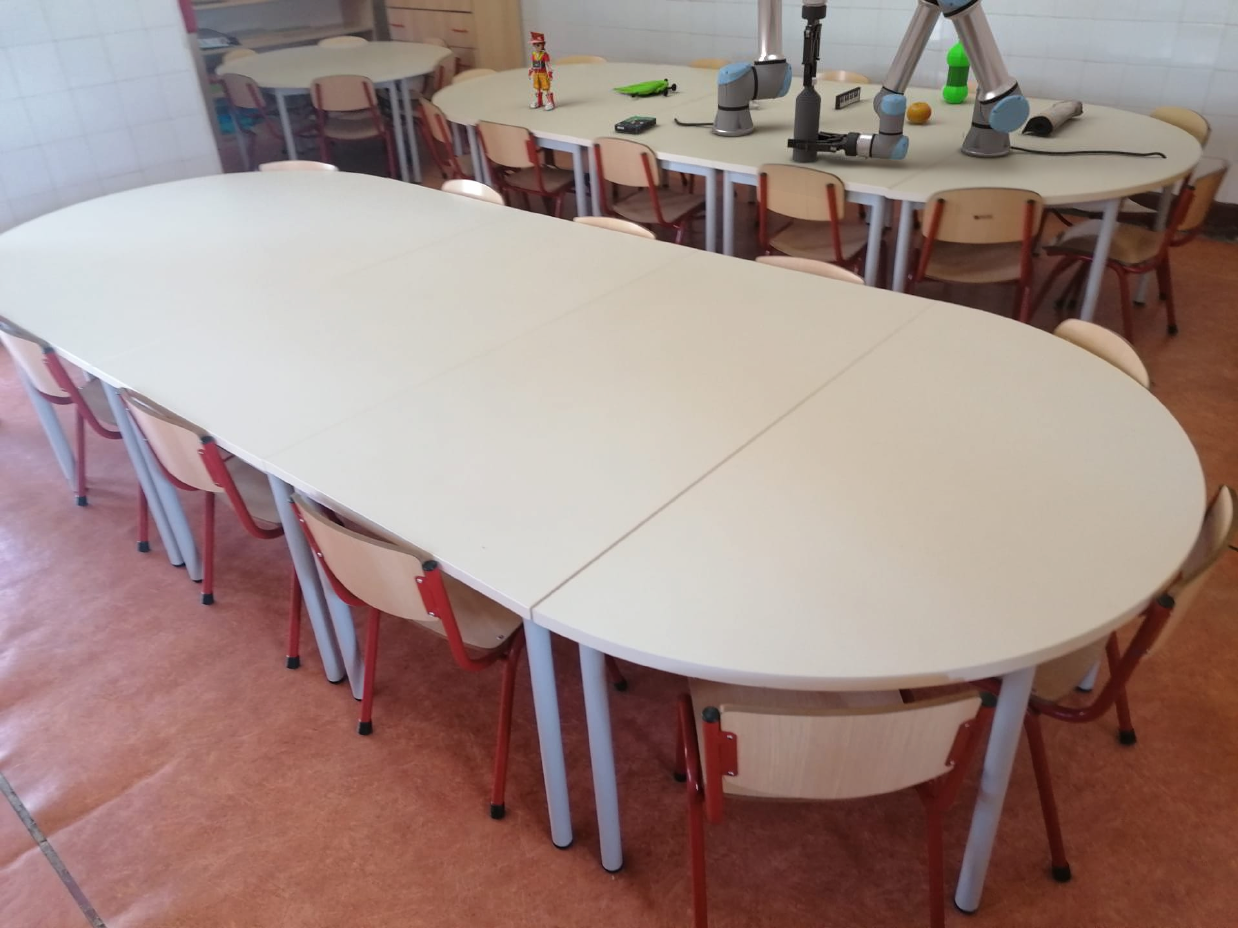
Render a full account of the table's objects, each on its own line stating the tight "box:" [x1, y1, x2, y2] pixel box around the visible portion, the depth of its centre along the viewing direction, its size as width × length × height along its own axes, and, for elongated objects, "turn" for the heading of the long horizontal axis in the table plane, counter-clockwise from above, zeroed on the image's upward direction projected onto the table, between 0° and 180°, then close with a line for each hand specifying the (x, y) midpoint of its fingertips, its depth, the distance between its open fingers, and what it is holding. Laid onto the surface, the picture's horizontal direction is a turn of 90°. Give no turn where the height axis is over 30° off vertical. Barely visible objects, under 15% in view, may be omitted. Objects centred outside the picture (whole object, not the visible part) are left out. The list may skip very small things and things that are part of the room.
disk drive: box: [614, 115, 657, 135], centre depth 346 cm, size 10×3×15 cm
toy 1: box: [527, 31, 556, 111], centre depth 374 cm, size 12×9×30 cm
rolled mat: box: [1021, 99, 1084, 138], centre depth 318 cm, size 30×9×10 cm
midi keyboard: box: [834, 86, 862, 110], centre depth 359 cm, size 18×1×5 cm, turn 138°
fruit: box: [906, 101, 932, 124], centre depth 331 cm, size 8×8×8 cm
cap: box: [801, 77, 818, 86], centre depth 290 cm, size 4×5×2 cm
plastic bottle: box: [942, 36, 971, 104], centre depth 348 cm, size 10×10×25 cm
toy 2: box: [612, 78, 677, 99], centre depth 396 cm, size 28×5×30 cm
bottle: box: [792, 85, 822, 163], centre depth 297 cm, size 8×8×25 cm
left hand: (809, 84), depth 290 cm, fingers closed on cap, 4 cm apart
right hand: (792, 139), depth 302 cm, fingers closed on bottle, 8 cm apart
